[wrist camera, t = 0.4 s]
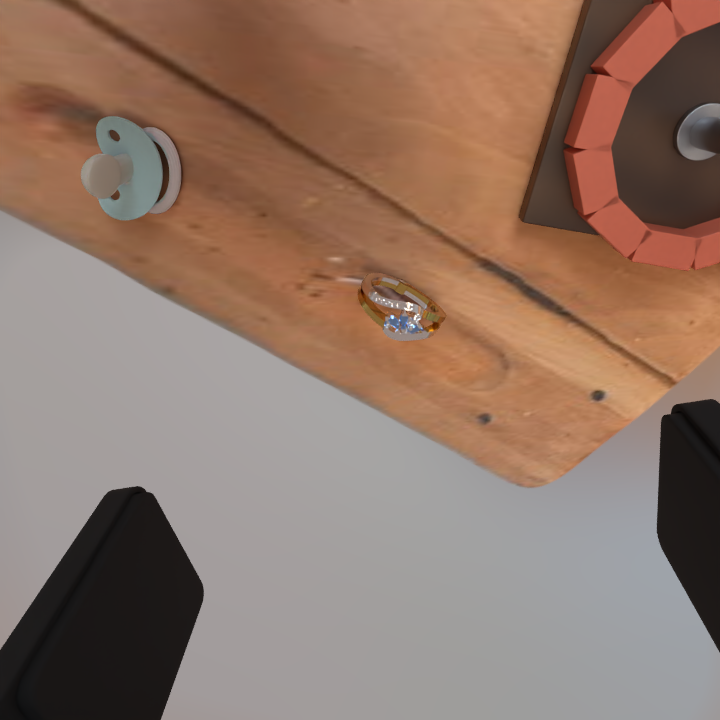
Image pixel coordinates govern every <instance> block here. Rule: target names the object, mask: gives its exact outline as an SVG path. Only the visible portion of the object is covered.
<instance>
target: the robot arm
mask: <svg viewBox="0 0 720 720" xmlns="http://www.w3.org/2000/svg"><path fill="white" fill-rule="evenodd" d="M657 534H658V539H659V542H660V545H661V548H662V550H663V552H664V554H665V555H666V557H667V559H668V561H669V563H670V564H671V566H672V568H673V570H674V571H675V573H676V575H677V577H678V579H679V580H680V582H681V584H682V586H683V587H684V589H685V591H686V593H687V595H688V596H689V598H690V600H691V602H692V604H693V605H694V607H695V609H696V611H697V613H698V614H699V616H700V618H701V620H702V621H703V623H704V625H705V627H706V628H707V630H708V632H709V634H710V636H711V638H712V639H713V641H714V643H715V644H716V646H717V648H718V650H719V652H720V404H719V403H718V402H717V401H716V400H713V399H709V400H702V401H696V402H690V403H683V404H676V405H674V406H673V408H672V411H671V414H669V415H664V416H663V417H662V420H661V438H660V463H659V488H658V513H657ZM203 596H204V590H203V584H202V582H201V580H200V578H199V576H198V575H197V573H196V571H195V569H194V567H193V565H192V564H191V562H190V560H189V558H188V556H187V554H186V553H185V551H184V549H183V547H182V546H181V544H180V542H179V540H178V538H177V536H176V534H175V533H174V531H173V529H172V527H171V525H170V523H169V522H168V520H167V518H166V516H165V514H164V513H163V511H162V509H161V507H160V505H159V503H158V502H157V500H156V498H155V496H154V495H153V494H152V493H149V492H146V490H145V489H144V488H142V487H138V486H136V487H129V488H123V489H116V490H111V491H109V492H108V493H107V494H106V495H105V496H104V497H103V499H102V500H101V502H100V503H99V505H98V506H97V508H96V509H95V511H94V512H93V513H92V515H91V516H90V518H89V519H88V521H87V523H86V524H85V526H84V527H83V528H82V530H81V531H80V533H79V534H78V536H77V537H76V539H75V540H74V542H73V543H72V545H71V546H70V548H69V549H68V550H67V552H66V554H65V555H64V556H63V558H62V559H61V561H60V562H59V564H58V565H57V567H56V568H55V570H54V571H53V573H52V574H51V576H50V577H49V579H48V580H47V582H46V583H45V585H44V586H43V588H42V589H41V590H40V592H39V593H38V595H37V596H36V598H35V599H34V601H33V602H32V604H31V605H30V607H29V608H28V610H27V611H26V613H25V614H24V616H23V617H22V619H21V620H20V622H19V623H18V625H17V626H16V628H15V629H14V631H13V632H12V633H11V635H10V636H9V638H8V639H7V641H6V642H5V644H4V645H3V647H2V648H1V650H0V720H161V717H162V715H163V712H164V709H165V706H166V703H167V701H168V698H169V695H170V692H171V689H172V686H173V683H174V681H175V678H176V675H177V672H178V670H179V667H180V664H181V661H182V658H183V656H184V653H185V650H186V647H187V644H188V642H189V639H190V636H191V633H192V630H193V628H194V625H195V622H196V619H197V616H198V614H199V611H200V608H201V605H202V602H203Z"/></svg>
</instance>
